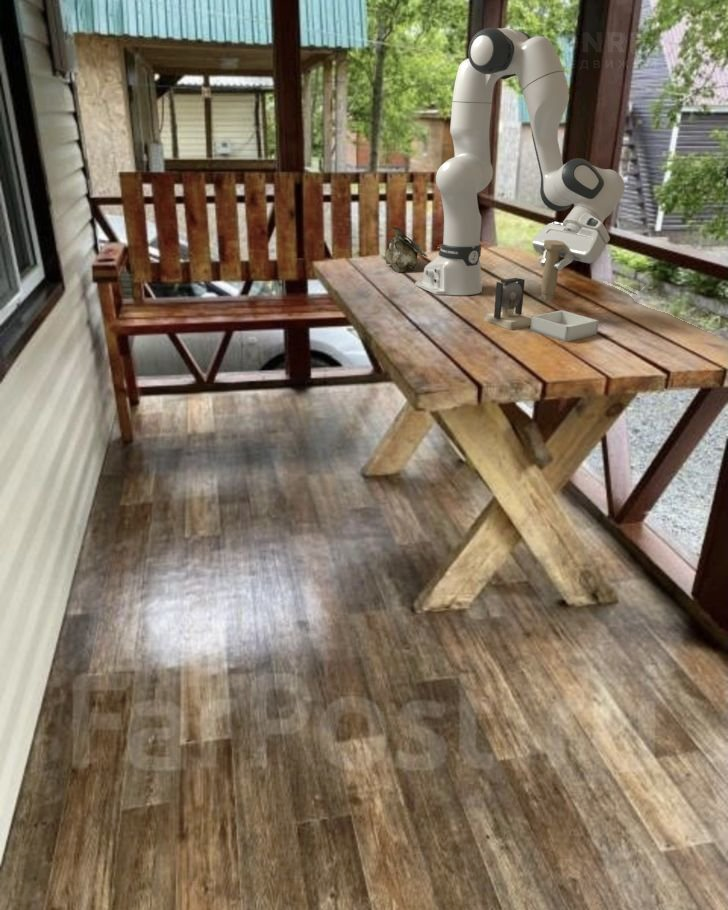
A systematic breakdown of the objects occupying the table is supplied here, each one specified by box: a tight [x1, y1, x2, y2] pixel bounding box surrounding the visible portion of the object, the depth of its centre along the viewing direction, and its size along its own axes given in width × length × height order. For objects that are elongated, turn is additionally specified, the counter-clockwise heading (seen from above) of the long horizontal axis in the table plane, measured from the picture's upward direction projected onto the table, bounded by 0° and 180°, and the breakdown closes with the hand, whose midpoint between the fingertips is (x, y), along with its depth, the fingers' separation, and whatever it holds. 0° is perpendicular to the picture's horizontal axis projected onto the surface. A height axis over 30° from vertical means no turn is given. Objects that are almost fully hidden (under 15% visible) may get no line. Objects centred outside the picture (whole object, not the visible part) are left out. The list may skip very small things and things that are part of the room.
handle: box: [540, 240, 565, 301], centre depth 195 cm, size 5×6×15 cm
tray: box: [529, 309, 599, 342], centre depth 186 cm, size 12×11×4 cm
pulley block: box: [484, 277, 531, 331], centre depth 192 cm, size 10×8×12 cm
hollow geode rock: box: [384, 226, 428, 273], centre depth 262 cm, size 28×13×15 cm
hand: (549, 267), depth 194 cm, fingers closed on handle, 3 cm apart
